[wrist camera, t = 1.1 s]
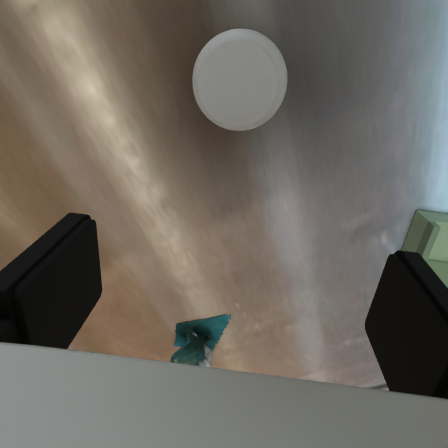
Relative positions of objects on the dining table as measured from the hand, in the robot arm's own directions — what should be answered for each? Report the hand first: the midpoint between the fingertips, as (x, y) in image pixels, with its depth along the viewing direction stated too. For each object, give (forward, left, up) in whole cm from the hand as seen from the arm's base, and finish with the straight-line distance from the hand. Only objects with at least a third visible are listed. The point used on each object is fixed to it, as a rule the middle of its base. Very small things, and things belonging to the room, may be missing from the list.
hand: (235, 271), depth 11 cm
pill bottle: (-5, -1, -23) cm, 23 cm away
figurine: (+26, -3, -23) cm, 35 cm away
